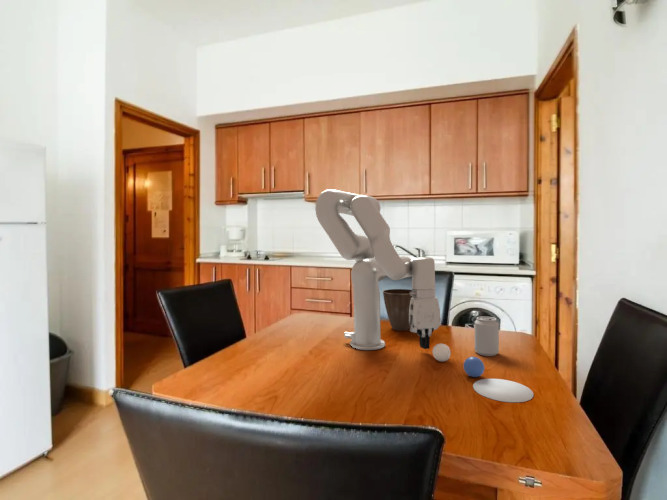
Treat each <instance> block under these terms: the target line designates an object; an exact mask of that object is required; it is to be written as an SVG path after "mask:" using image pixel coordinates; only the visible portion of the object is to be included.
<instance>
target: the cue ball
mask: <svg viewBox="0 0 667 500" xmlns="http://www.w3.org/2000/svg"><path fill="white" fill-rule="evenodd" d="M432 355H433V357H434V358H435V360H436V361H438V362H443V363H444V362H447V361H448V360H449V359H450V357H451V349H450V346H448V345H447V344H444V343H436V344H435V345H434V346H433V348H432Z"/></svg>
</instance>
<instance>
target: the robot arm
mask: <svg viewBox="0 0 667 500" xmlns="http://www.w3.org/2000/svg"><path fill="white" fill-rule="evenodd" d="M315 202H316V203H315V207H314V208H315V209H314V210H315V216H316V218H317V222H318V223H319V224H320V226H321V228H323V230H324V231H325V233H326V234H327V236H328V238H329V239H330V241H331V243H332V244H333V245H334V247H335V249H337V251H338V253H339V254H340V256H341V257H342V258H343V259H344V260H347V261H355V263H354V264H353V265H352V268H351V271H350V272H351V273H350V275H351V283H352V291H353V323H354V324H353V329H354V331H352V332H349V331H344V334H343V336H344V339H350V343H349V345H351V346H352V348H353V349H355V348H356V350H360V351H375V350H380V349H383V348H384V347H385V346H386V342H385V340H383V339H381V337H382V336H381V335H382V334H381V292H380V287H379V286H380V285H379V282H380V281H382V280H384V279H385V278H386V277H388V278H389V279H390V280H393V281H400V280H403V279H405V278H410V277H411V290H412V292H410V296H412V298H411V301H410V307H409V325H410V326H411V327H410V329H409V331H410V332H411V333H415V334H417V336H419V338H418V339H419V347H420V348H422V349H424V350H427V349H430V343H431V341H430V340H431V339H430V338H431V337H432V334H433V332H434V331H435V330H437V329H439V327H440V326H441V323H442V322H441V309H440V302H439V299H438V297H437V296H436V267H435V263H436V262H435V260H434V258H432V257H429V256H426V257H425V256H417V257H411V256H405V255H404V256H400V254H398V252H397V250H396V248H395V247H394V245H393V243H392V240H391V234H390V233H391V229H390V226H389V224H388V223H387V221H386V220H385V218H384V217H383V215H382V214H381V203H380V202H379V201H378V199H377V198H375V197H373V196H370V195H367V194H357V193H351V192H347V191H342V190H339V189H334V188H333V189H332V188H331V189H325V190H324V191H321V193H320V194H319V195H318V197H317V199H316V201H315ZM341 214H343V215H349V216H353V217H354V219H355V220H356V222H357V223H358V225H359V226H360V228H361V230H362V231H363V232H364V234H365V235H362V234H356V233H355V231H353V229H352V228H351V227H350V225H349V224H348V222H347V221H346V219H344V217H342V215H341ZM351 346H350V347H351Z"/></svg>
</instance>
